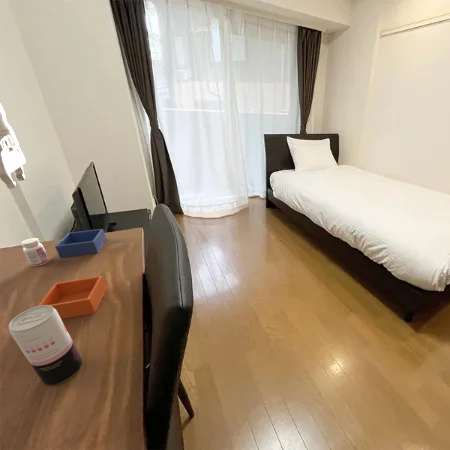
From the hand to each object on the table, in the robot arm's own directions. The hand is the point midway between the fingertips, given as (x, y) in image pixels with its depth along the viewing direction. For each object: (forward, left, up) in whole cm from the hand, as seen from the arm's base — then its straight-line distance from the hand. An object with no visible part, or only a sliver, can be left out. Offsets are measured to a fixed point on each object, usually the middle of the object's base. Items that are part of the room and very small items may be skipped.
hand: (17, 183), depth 89 cm
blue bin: (+14, -5, -24) cm, 28 cm away
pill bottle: (+3, -12, -24) cm, 27 cm away
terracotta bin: (+23, -38, -24) cm, 51 cm away
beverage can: (+28, -60, -24) cm, 71 cm away
